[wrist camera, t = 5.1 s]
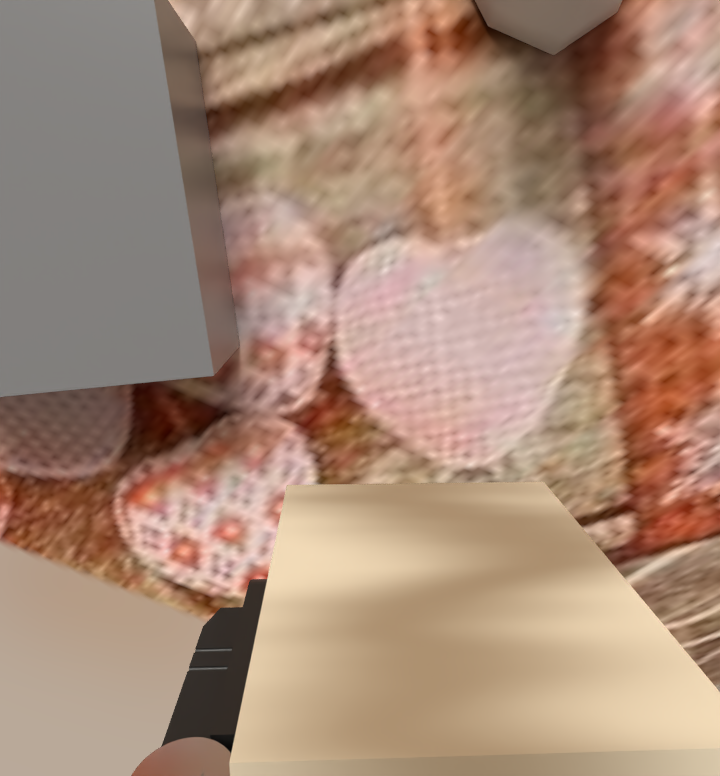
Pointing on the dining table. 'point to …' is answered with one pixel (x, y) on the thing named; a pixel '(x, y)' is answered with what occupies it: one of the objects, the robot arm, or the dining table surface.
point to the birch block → (461, 645)
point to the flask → (546, 19)
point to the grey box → (106, 201)
